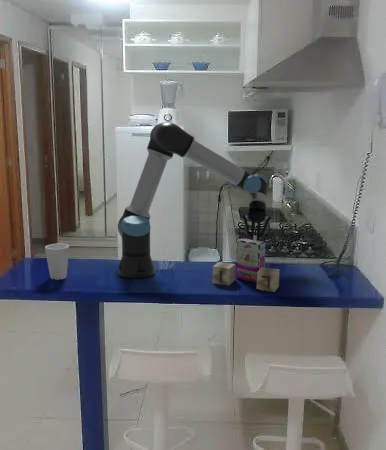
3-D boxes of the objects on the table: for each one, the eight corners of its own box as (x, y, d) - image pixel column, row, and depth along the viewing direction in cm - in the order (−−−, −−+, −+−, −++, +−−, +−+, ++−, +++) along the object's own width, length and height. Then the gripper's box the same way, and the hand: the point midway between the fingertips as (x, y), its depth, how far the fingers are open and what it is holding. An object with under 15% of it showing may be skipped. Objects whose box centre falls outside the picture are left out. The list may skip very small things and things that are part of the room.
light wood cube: (256, 289, 187) (257, 272, 185) (261, 284, 193) (262, 267, 192) (274, 292, 184) (275, 274, 182) (278, 286, 190) (279, 269, 189)
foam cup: (75, 275, 200) (74, 245, 198) (60, 282, 192) (58, 250, 189) (56, 272, 204) (55, 242, 202) (41, 278, 196) (39, 247, 193)
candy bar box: (265, 281, 196) (266, 241, 193) (258, 284, 193) (259, 244, 189) (242, 275, 203) (243, 237, 200) (235, 278, 200) (236, 239, 196)
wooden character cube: (212, 283, 193) (212, 266, 192) (218, 278, 200) (218, 261, 198) (228, 285, 191) (229, 268, 189) (234, 280, 197) (235, 263, 196)
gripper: (271, 210, 221) (269, 255, 208) (243, 208, 223) (238, 253, 210) (272, 200, 215) (270, 246, 202) (242, 199, 217) (238, 244, 204)
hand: (254, 249), depth 206 cm, fingers closed
